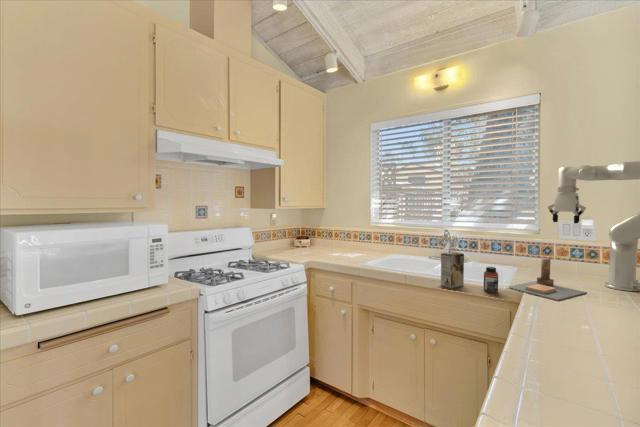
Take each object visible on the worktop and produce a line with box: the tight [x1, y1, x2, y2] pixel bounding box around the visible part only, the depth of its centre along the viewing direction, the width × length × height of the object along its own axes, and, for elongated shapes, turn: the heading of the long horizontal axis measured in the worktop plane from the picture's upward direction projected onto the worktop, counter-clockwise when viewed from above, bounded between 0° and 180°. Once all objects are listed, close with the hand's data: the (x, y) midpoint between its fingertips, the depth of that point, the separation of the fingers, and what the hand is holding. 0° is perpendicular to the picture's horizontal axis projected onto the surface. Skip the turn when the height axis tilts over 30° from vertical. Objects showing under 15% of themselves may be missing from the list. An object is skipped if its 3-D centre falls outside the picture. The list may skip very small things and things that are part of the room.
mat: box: [507, 280, 588, 302], centre depth 150 cm, size 22×24×1 cm
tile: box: [525, 284, 556, 294], centre depth 149 cm, size 8×2×10 cm
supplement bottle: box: [483, 266, 499, 294], centre depth 149 cm, size 6×6×11 cm
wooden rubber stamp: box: [536, 257, 555, 286], centre depth 159 cm, size 6×4×13 cm, turn 27°
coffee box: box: [440, 251, 465, 289], centre depth 159 cm, size 9×6×16 cm
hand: (565, 222), depth 171 cm, fingers open, 9 cm apart
